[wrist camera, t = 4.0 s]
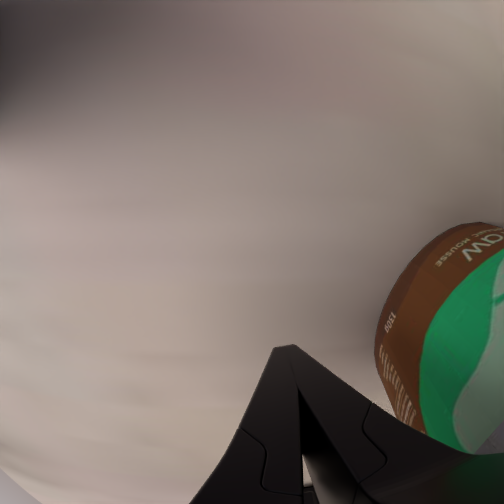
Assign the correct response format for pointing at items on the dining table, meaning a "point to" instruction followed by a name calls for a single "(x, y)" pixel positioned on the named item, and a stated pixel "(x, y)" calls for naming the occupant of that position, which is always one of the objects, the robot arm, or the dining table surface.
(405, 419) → the food container
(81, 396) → the dining table surface
